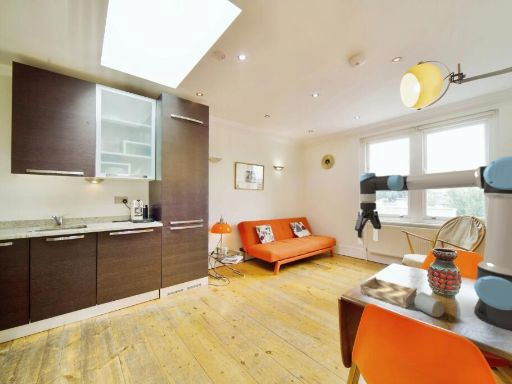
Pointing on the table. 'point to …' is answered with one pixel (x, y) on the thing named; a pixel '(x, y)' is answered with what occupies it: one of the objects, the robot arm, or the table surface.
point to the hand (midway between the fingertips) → (368, 242)
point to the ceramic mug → (429, 305)
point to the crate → (389, 292)
